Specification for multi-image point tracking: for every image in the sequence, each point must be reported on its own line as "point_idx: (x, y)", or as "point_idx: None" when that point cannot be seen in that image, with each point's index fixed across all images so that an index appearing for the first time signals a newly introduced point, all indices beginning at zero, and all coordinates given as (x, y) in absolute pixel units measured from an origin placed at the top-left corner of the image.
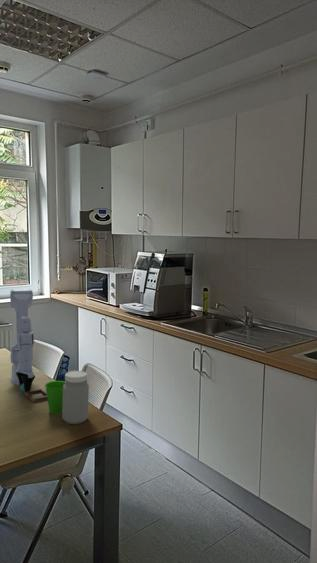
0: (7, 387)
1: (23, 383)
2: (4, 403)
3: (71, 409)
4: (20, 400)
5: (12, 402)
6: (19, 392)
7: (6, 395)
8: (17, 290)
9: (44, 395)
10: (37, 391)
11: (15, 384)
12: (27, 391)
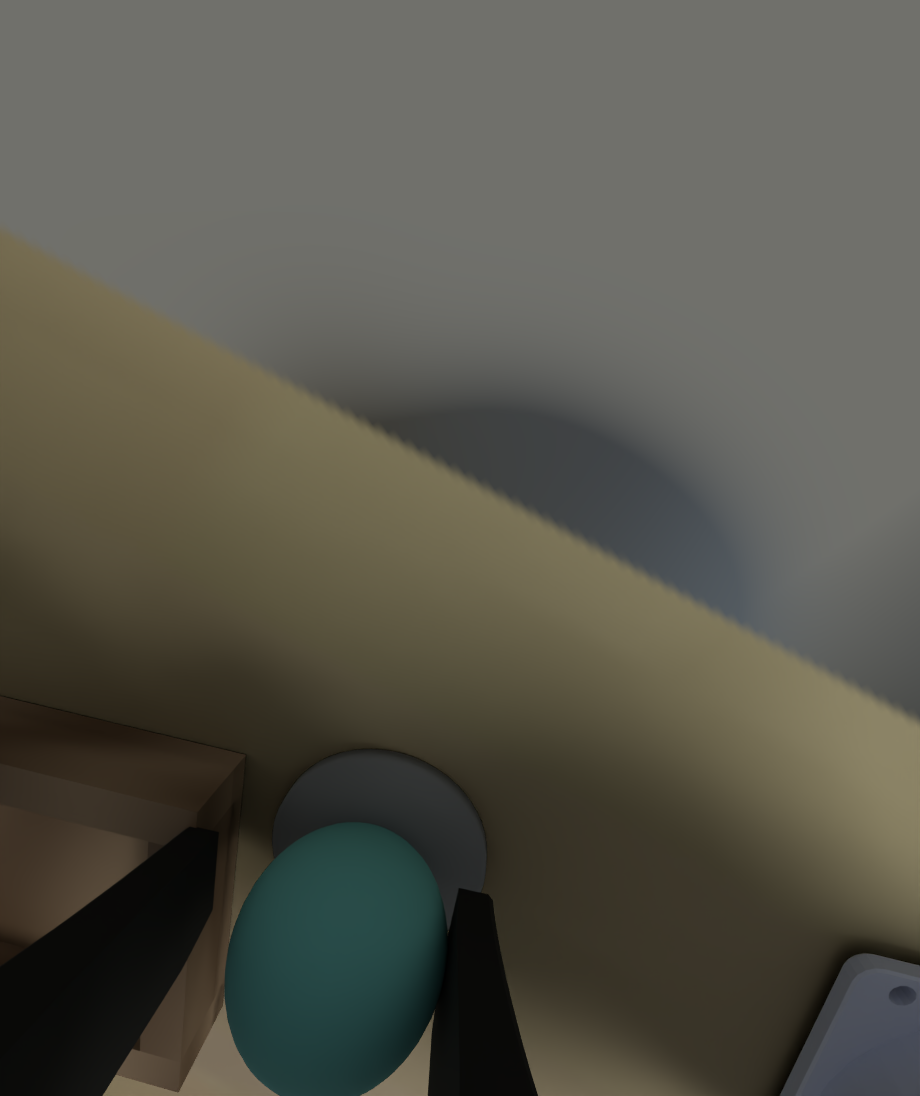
0: (898, 783)
1: (320, 1041)
2: (96, 280)
3: None
4: (84, 593)
5: (67, 434)
6: (405, 774)
7: (480, 533)
8: None
9: (25, 947)
10: None
11: (883, 962)
12: None
